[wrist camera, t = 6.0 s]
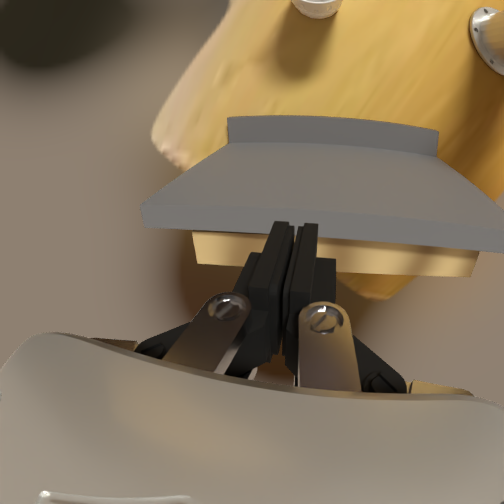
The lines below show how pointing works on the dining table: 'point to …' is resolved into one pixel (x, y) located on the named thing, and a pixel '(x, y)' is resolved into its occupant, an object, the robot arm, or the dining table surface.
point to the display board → (331, 185)
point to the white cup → (317, 7)
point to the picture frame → (343, 254)
